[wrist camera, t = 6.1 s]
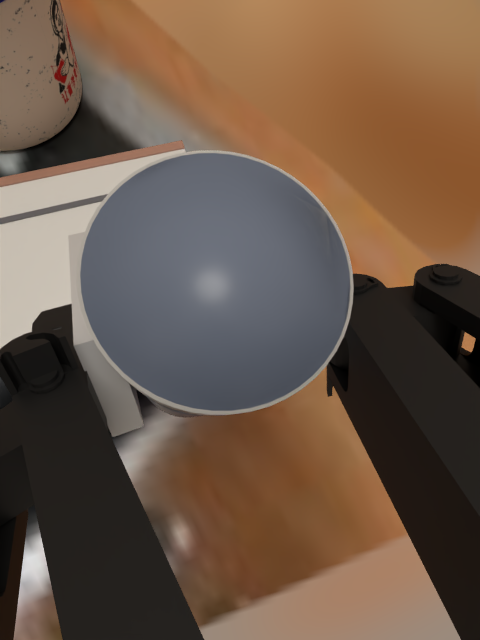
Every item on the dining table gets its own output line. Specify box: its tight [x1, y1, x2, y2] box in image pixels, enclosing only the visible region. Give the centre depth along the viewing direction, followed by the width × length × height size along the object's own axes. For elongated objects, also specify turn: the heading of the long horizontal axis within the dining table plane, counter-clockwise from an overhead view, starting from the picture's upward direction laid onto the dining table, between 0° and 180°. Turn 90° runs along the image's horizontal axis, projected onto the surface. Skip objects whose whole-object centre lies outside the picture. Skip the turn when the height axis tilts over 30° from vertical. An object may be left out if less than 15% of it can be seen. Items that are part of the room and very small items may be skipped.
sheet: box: [0, 140, 186, 349], centre depth 22 cm, size 20×10×1 cm, turn 110°
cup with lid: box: [76, 150, 354, 417], centre depth 12 cm, size 4×4×12 cm
